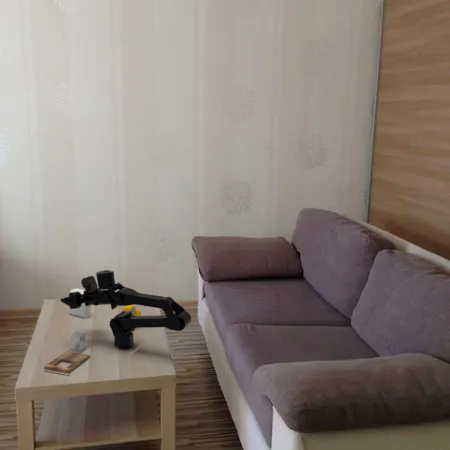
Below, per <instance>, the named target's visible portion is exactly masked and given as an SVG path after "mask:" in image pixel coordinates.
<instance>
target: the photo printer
mask: <svg viewBox="0 0 450 450" xmlns="http://www.w3.org/2000/svg"><path fill="white" fill-rule="evenodd" d="M84 291H86V290H85V289H82V288H72V289H70V291H69V293H72V292H80V293H81V294H84ZM91 306H92V305H89V306H85V303H82V306H81V307H80V308H76V309H70V308H69V314H70V315H73V316H75V317H78V318H79V317H80V318H83V319H89V318H90V317H91V312H92V311H91V310H92V309H91Z"/></svg>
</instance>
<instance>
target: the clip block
mask: <svg viewBox="0 0 450 450" xmlns="http://www.w3.org/2000/svg"><path fill="white" fill-rule="evenodd" d="M86 337H87V336H86V332H79V331H75V332H74V333H72V334H71V335H70V349H71V350H72V351H78V352H81V351H82V350H84V349H85V348H86V346H87V343H86V342H87V341H86Z"/></svg>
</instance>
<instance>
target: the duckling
mask: <svg viewBox="0 0 450 450" xmlns="http://www.w3.org/2000/svg"><path fill="white" fill-rule="evenodd" d="M122 311H125V312H129V311H132V315H134V316H142V313H141V311H140V309H138V308H137V307H136V305H128V306H124V309H122Z"/></svg>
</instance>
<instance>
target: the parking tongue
mask: <svg viewBox="0 0 450 450" xmlns="http://www.w3.org/2000/svg"><path fill="white" fill-rule="evenodd" d="M91 347H92V346H90V345H86V348H85V349H84V350H82V351H81V352H78V351H72V350H71V348H69V349H68V350H67V351H70V352H75V353H81V354H84V352H85V351H87V350H88V349H90V348H91Z"/></svg>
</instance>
